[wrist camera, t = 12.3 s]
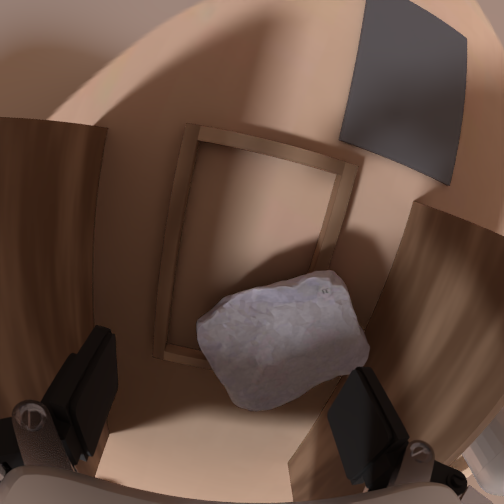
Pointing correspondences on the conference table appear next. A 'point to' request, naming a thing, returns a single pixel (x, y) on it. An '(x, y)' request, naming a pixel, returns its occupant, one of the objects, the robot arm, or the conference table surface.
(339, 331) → the stone block
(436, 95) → the mat
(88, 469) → the well frame
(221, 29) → the conference table surface
